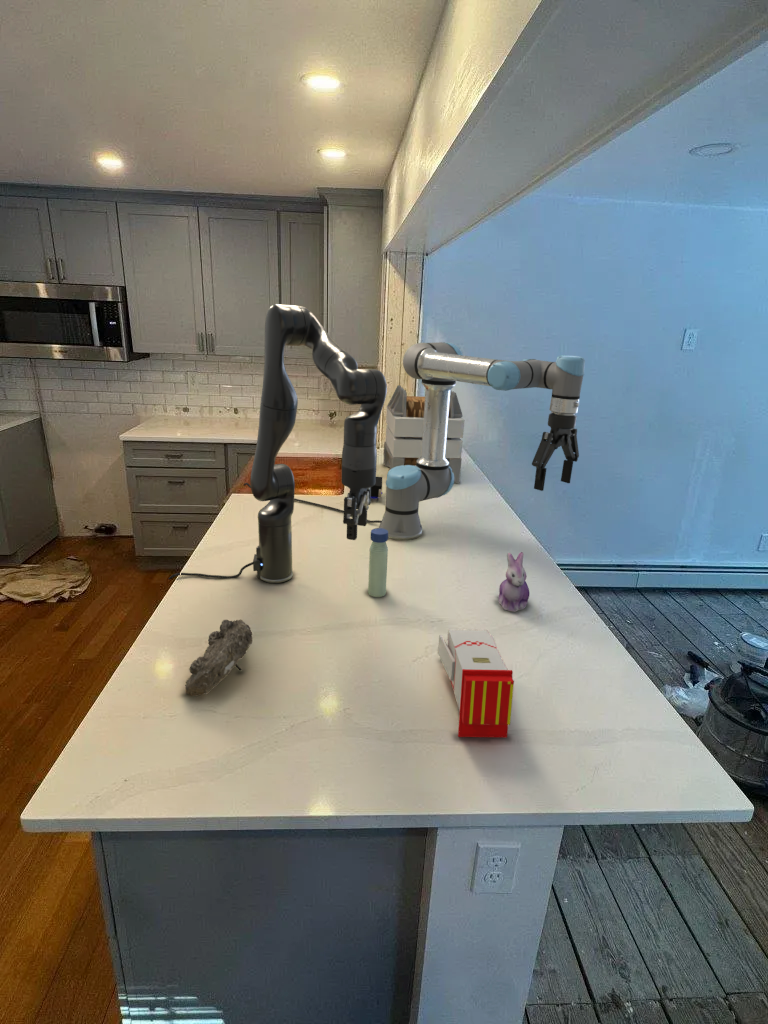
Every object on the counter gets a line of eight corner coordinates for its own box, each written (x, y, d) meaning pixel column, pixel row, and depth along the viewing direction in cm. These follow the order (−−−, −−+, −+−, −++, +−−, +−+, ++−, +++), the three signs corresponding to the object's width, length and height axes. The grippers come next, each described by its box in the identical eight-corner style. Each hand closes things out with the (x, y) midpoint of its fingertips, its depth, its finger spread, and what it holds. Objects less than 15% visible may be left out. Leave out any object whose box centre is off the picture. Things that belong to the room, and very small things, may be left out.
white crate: (382, 463, 289) (386, 382, 275) (445, 464, 293) (451, 384, 279) (390, 482, 257) (394, 392, 243) (460, 483, 261) (468, 394, 247)
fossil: (205, 622, 132) (252, 592, 127) (234, 650, 134) (280, 621, 129) (164, 690, 112) (217, 657, 107) (198, 721, 115) (251, 691, 110)
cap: (370, 535, 155) (370, 527, 154) (387, 536, 155) (387, 528, 154) (370, 542, 150) (370, 534, 149) (388, 543, 150) (388, 534, 150)
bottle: (367, 588, 160) (370, 529, 154) (385, 588, 160) (388, 529, 154) (368, 596, 156) (370, 535, 149) (386, 597, 156) (389, 536, 150)
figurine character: (382, 506, 231) (382, 491, 244) (383, 489, 227) (382, 474, 241) (366, 505, 230) (366, 490, 244) (366, 488, 227) (367, 474, 240)
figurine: (511, 616, 149) (518, 564, 143) (487, 598, 157) (493, 549, 152) (539, 609, 153) (547, 558, 148) (514, 592, 161) (521, 544, 156)
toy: (488, 613, 130) (523, 677, 101) (484, 667, 133) (517, 744, 104) (435, 612, 130) (455, 676, 101) (432, 666, 133) (451, 743, 103)
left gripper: (351, 453, 130) (349, 519, 136) (332, 470, 117) (331, 541, 123) (383, 457, 129) (380, 523, 135) (367, 474, 116) (364, 546, 122)
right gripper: (548, 419, 148) (537, 496, 155) (598, 411, 163) (586, 482, 171) (525, 414, 153) (515, 489, 160) (575, 407, 169) (564, 476, 176)
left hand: (356, 532), depth 129 cm, fingers open, 8 cm apart
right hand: (552, 485), depth 166 cm, fingers open, 13 cm apart
